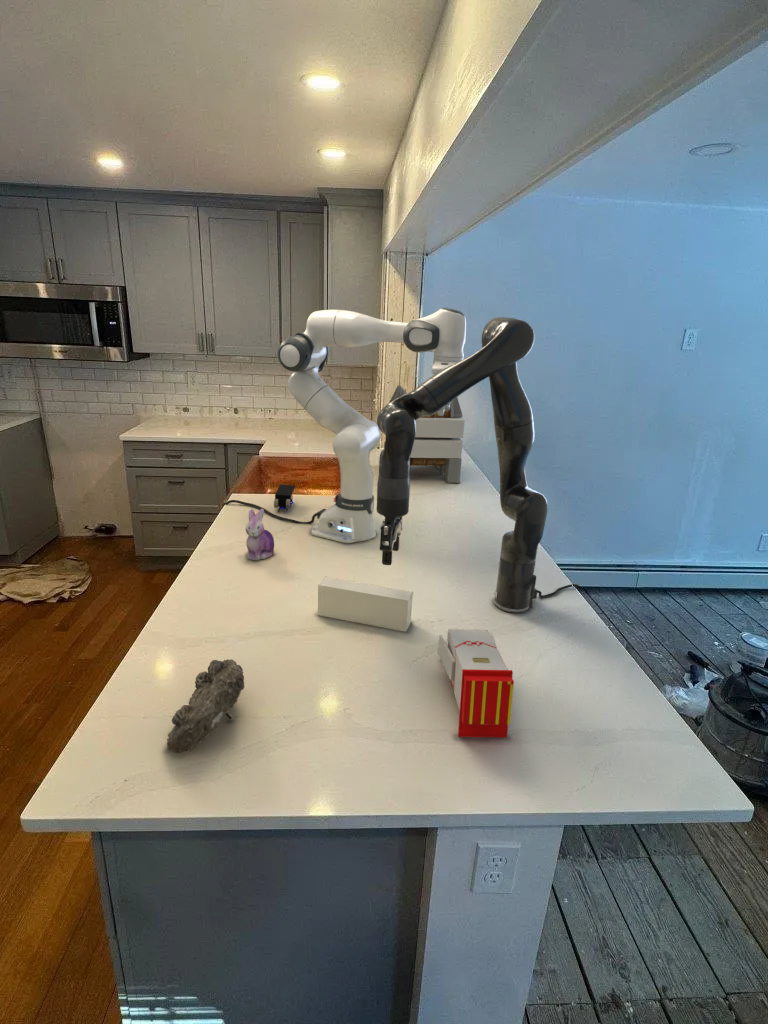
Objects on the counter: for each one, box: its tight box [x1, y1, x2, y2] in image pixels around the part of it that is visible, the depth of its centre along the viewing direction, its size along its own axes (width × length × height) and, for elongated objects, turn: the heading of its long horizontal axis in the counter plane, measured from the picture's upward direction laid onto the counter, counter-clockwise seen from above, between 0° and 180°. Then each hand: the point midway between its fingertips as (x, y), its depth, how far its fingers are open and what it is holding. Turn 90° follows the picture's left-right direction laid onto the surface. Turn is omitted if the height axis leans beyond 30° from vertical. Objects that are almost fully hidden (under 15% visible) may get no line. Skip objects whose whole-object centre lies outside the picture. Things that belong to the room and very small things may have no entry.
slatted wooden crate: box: [383, 384, 465, 484], centre depth 268 cm, size 34×33×41 cm
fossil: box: [166, 658, 245, 754], centre depth 106 cm, size 22×10×15 cm
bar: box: [317, 576, 414, 633], centre depth 143 cm, size 23×5×9 cm, turn 74°
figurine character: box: [273, 484, 296, 513], centre depth 219 cm, size 7×8×15 cm
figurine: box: [245, 507, 275, 561], centre depth 176 cm, size 9×10×15 cm
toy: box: [437, 628, 515, 738], centre depth 117 cm, size 12×13×30 cm
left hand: (443, 412), depth 173 cm, fingers open, 8 cm apart
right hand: (390, 557), depth 137 cm, fingers open, 8 cm apart
